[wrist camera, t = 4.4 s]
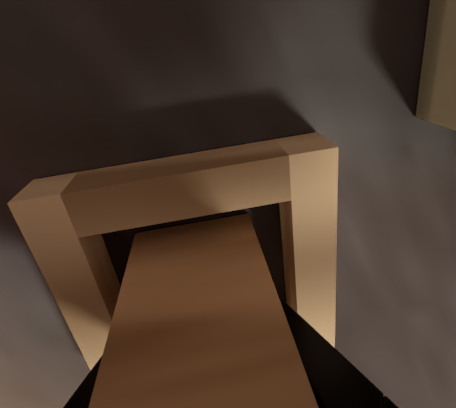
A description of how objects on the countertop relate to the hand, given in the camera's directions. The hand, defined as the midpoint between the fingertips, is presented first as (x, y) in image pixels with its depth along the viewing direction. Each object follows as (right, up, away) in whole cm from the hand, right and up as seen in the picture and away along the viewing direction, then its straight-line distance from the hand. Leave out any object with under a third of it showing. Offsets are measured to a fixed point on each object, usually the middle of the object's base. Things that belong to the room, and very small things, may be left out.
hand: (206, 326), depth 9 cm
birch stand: (0, +1, +2) cm, 2 cm away
